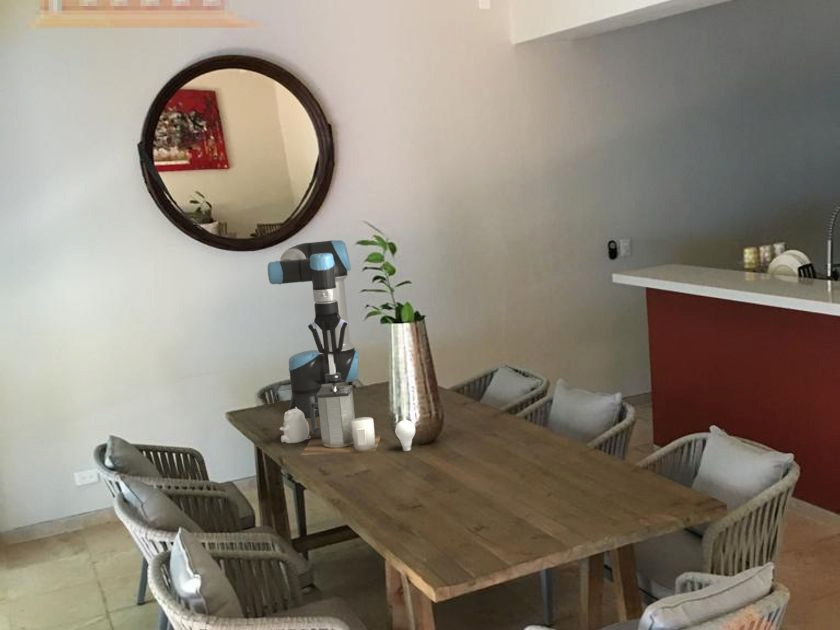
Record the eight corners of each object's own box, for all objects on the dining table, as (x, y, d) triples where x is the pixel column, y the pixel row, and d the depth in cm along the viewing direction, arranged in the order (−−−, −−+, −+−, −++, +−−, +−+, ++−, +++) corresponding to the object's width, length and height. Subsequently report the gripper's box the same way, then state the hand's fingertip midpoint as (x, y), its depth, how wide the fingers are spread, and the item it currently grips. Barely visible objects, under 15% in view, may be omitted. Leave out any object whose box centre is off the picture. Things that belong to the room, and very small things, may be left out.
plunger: (327, 424, 290) (322, 372, 287) (352, 422, 289) (347, 370, 286) (323, 431, 282) (318, 378, 279) (349, 429, 281) (343, 376, 278)
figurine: (314, 438, 300) (311, 404, 298) (308, 447, 290) (304, 412, 288) (286, 439, 301) (282, 405, 299) (279, 448, 291) (275, 413, 289)
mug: (355, 444, 283) (352, 417, 282) (376, 443, 283) (374, 416, 282) (351, 453, 275) (349, 425, 274) (373, 451, 275) (371, 424, 273)
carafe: (316, 439, 292) (311, 387, 289) (358, 437, 291) (353, 385, 288) (311, 449, 282) (305, 396, 279) (353, 447, 281) (348, 393, 278)
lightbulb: (393, 456, 273) (390, 422, 271) (403, 450, 278) (400, 417, 277) (411, 458, 270) (408, 424, 268) (421, 451, 275) (418, 418, 274)
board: (310, 444, 293) (310, 439, 293) (381, 439, 292) (380, 435, 291) (301, 459, 277) (301, 454, 277) (376, 455, 276) (375, 450, 276)
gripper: (303, 304, 276) (311, 377, 279) (344, 301, 275) (351, 374, 278) (307, 301, 283) (315, 372, 287) (347, 298, 282) (354, 369, 286)
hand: (332, 373), depth 282 cm, fingers closed
